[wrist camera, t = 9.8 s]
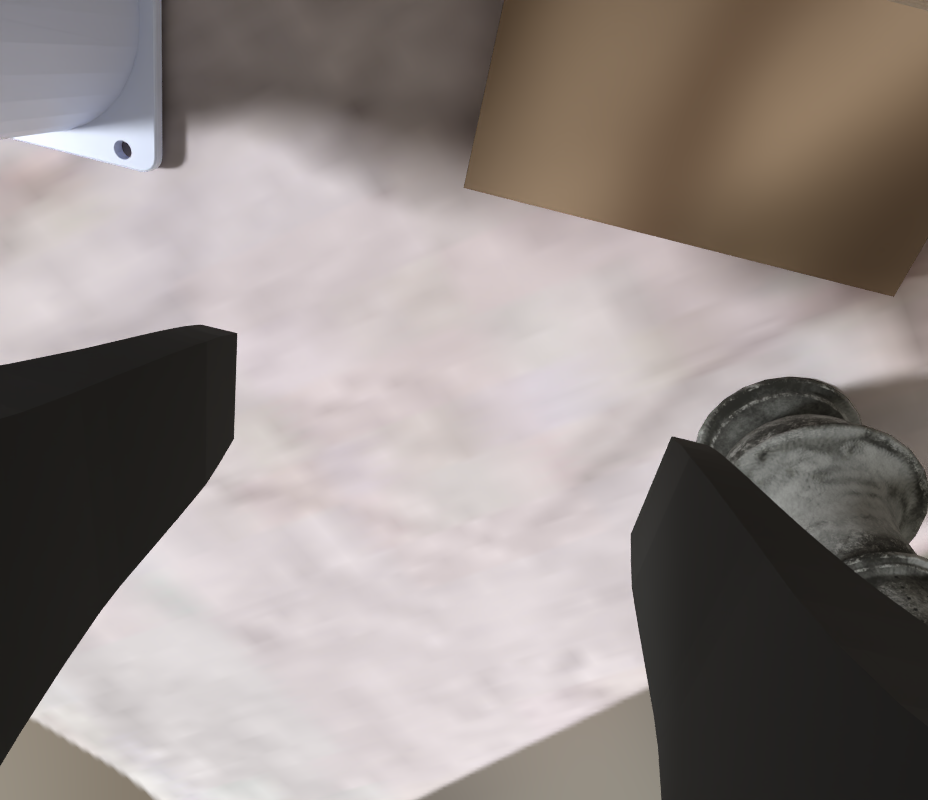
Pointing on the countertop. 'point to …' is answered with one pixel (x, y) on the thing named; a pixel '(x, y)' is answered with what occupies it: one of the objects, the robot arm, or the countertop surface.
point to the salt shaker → (831, 478)
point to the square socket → (913, 3)
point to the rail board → (719, 126)
